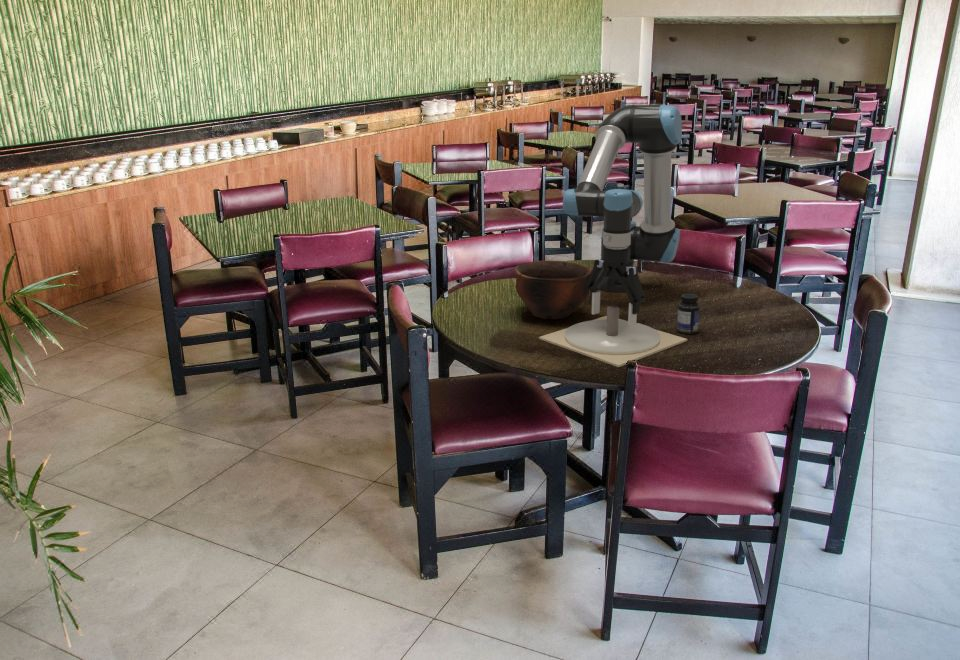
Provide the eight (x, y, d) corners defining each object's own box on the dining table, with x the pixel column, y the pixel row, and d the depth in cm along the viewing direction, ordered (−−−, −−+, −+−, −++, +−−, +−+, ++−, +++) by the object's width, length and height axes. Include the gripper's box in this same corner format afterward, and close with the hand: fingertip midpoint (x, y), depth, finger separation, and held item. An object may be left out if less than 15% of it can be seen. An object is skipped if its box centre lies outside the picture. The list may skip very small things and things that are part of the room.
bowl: (606, 312, 246) (608, 266, 241) (560, 331, 228) (561, 283, 223) (545, 298, 261) (545, 255, 257) (498, 315, 244) (497, 269, 239)
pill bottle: (691, 327, 230) (694, 292, 227) (701, 333, 225) (704, 297, 221) (672, 329, 229) (675, 293, 225) (682, 335, 223) (684, 299, 220)
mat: (538, 338, 223) (538, 337, 222) (607, 317, 241) (607, 315, 241) (618, 367, 201) (618, 365, 201) (687, 340, 219) (687, 338, 219)
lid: (545, 337, 222) (545, 307, 219) (606, 317, 238) (607, 289, 235) (618, 362, 202) (620, 329, 199) (679, 338, 219) (681, 308, 216)
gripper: (574, 241, 219) (572, 311, 226) (643, 256, 200) (639, 332, 208) (591, 237, 223) (589, 306, 230) (661, 251, 205) (656, 326, 212)
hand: (613, 318), depth 219 cm, fingers open, 13 cm apart
